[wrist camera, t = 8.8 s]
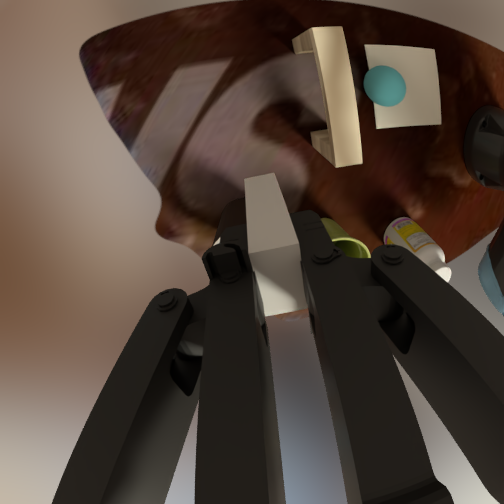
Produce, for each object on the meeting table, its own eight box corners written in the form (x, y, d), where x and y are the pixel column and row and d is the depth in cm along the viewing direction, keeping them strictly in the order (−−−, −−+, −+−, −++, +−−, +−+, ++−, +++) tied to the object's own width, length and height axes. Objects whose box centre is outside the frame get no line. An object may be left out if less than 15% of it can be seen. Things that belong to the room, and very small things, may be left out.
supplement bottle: (399, 254, 46) (435, 303, 35) (375, 241, 44) (411, 293, 34) (421, 224, 43) (463, 269, 32) (397, 208, 41) (441, 255, 30)
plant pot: (278, 248, 44) (288, 286, 36) (310, 196, 39) (329, 227, 32) (327, 267, 46) (343, 303, 39) (359, 221, 42) (383, 253, 35)
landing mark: (433, 49, 26) (434, 49, 26) (440, 124, 33) (441, 124, 33) (364, 44, 27) (364, 44, 27) (376, 128, 34) (376, 128, 33)
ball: (351, 66, 27) (375, 65, 29) (358, 108, 30) (381, 102, 32) (388, 65, 23) (410, 65, 25) (395, 111, 26) (415, 106, 28)
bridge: (315, 37, 27) (342, 26, 19) (334, 142, 35) (362, 163, 27) (291, 39, 27) (311, 27, 19) (312, 146, 35) (336, 167, 27)
